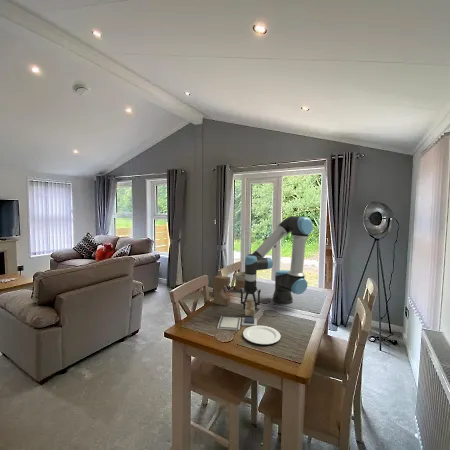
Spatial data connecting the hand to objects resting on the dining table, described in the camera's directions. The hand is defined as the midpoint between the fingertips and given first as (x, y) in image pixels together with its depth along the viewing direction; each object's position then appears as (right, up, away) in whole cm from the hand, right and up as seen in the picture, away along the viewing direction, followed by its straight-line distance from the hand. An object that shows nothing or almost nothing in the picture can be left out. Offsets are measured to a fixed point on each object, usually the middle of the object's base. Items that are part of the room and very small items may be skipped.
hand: (249, 314), depth 172 cm
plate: (+4, -4, -26) cm, 27 cm away
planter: (0, +3, +52) cm, 52 cm away
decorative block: (-19, +1, +20) cm, 28 cm away
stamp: (0, -1, 0) cm, 1 cm away
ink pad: (-1, -2, -10) cm, 11 cm away
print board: (-14, -2, -11) cm, 18 cm away
